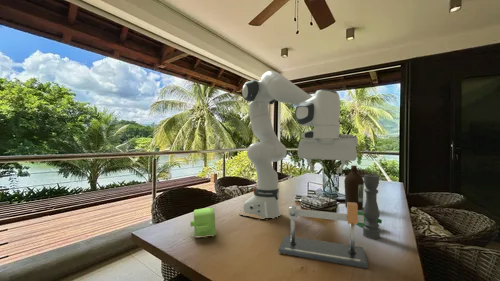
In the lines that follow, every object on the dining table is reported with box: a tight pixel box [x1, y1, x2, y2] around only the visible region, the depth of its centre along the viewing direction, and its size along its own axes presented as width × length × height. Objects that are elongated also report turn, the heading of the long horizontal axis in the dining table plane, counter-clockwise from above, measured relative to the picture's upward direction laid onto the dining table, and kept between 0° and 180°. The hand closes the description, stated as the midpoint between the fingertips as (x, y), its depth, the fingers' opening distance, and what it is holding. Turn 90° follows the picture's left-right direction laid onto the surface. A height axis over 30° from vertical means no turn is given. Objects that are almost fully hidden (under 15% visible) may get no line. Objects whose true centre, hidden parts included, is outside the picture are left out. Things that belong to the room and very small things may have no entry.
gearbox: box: [190, 207, 216, 237], centre depth 98 cm, size 18×10×10 cm, turn 14°
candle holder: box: [362, 174, 381, 240], centre depth 95 cm, size 6×6×25 cm
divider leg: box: [346, 202, 359, 252], centre depth 78 cm, size 3×5×16 cm, turn 160°
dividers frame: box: [288, 205, 364, 244], centre depth 82 cm, size 26×6×14 cm, turn 70°
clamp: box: [357, 210, 383, 228], centre depth 106 cm, size 12×6×9 cm, turn 3°
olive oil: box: [343, 165, 365, 211], centre depth 137 cm, size 11×11×25 cm
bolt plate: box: [278, 235, 369, 270], centre depth 81 cm, size 28×12×2 cm, turn 70°
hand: (325, 172), depth 83 cm, fingers open, 8 cm apart
